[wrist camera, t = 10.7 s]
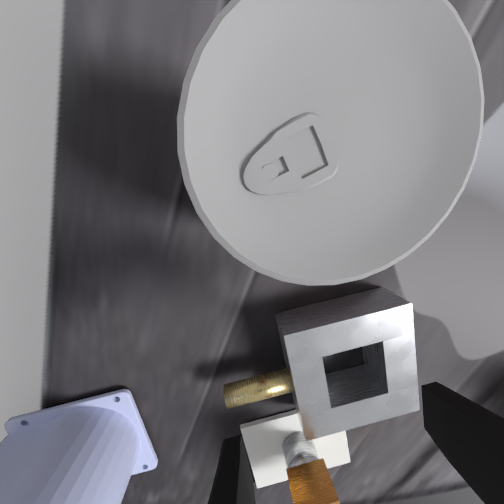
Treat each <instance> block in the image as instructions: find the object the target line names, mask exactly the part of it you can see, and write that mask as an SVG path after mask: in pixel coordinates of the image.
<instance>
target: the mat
mask: <svg viewBox="0 0 504 504" xmlns="http://www.w3.org/2000/svg"><path fill="white" fill-rule="evenodd" d="M240 429H241V433H242V436H243V440H244V443H245V447H246V450H247V454H248V457H249V461H250V464H251V468H252V471H253V475H254V478H255V481H256V485H257V488H261V487H264V486H268V485H272V484H275V483H279V482H282V481H286V480H288V476H287V471H286V468H287V467H286V463H285V458H284V453H283V449H282V443H283V441H284V439H285V438H286V437H287V436H288V435H289V434H291V433H294V432H298V431H302V432H303V430H302V427H301V424H300V421H299V418H298V415H297V412H296V410H292V411H289V412H285V413H281V414H278V415H274V416H270V417H267V418H263V419H259V420H255V421H252V422H248V423H244V424H241V425H240ZM313 443H314V445H315V448H316V451H317V454H318V457H319V459H322V458H323V459H324V461H325V464H326V467H327V469H328V468H332V467H335V466H339V465H342V464H346V463H349V462H350V456H349V450H348V444H347V437H346V431H342V432H338V433H335V434H331V435H327V436H324V437H320V438H317V439H313Z"/></svg>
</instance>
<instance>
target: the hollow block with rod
mask: <svg viewBox="0 0 504 504" xmlns="http://www.w3.org/2000/svg"><path fill="white" fill-rule="evenodd" d="M275 318H276V322H277V327H278V332H279V336H280V341H281V346H282V350H283V355H284V359H285V364H286V368H285V369H281V370H277V371H274V372H270V373H266V374H262V375H258V376H254V377H251V378H247V379H243V380H239V381H235V382H231V383H228V384H224V399H225V404H226V407H227V409H230V408H234V407H238V406H241V405H245V404H249V403H253V402H256V401H260V400H264V399H268V398H271V397H275V396H279V395H283V394H286V393H290V392H292V396H293V401H294V406H295V409H296V412H297V415H298V418H299V421H300V424H301V427H302V430H303V434H304V437H305V440H306V441H309V440H313V439H317V438H320V437H324V436H327V435H331V434H335V433H338V432H342V431H346V430H349V429H353V428H356V427H360V426H364V425H367V424H371V423H374V422H378V421H382V420H385V419H389V418H393V417H396V416H400V415H403V414H407V413H411V412H414V411H418V410H420V408H419V394H418V380H417V366H416V352H415V337H414V323H413V309H412V303H411V302H409V301H407V300H405V299H403V298H402V297H400V296H398V295H396V294H394V293H392V292H391V291H389V290H387V289H385V288H383V287H379V288H375V289H371V290H367V291H363V292H359V293H355V294H351V295H347V296H343V297H339V298H335V299H331V300H327V301H323V302H319V303H315V304H311V305H307V306H303V307H299V308H295V309H291V310H287V311H283V312H279V313H275ZM359 347H362V352H363V360H364V364H361V365H358V366H354V367H350V368H346V369H343V370H339V371H335V372H331V373H327V374H325V370H324V364H323V358H322V357H324V356H328V355H332V354H336V353H339V352H343V351H347V350H351V349H355V348H359Z"/></svg>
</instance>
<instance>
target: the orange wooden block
mask: <svg viewBox="0 0 504 504" xmlns="http://www.w3.org/2000/svg"><path fill="white" fill-rule="evenodd" d="M282 449H283V453H284V458H285V463H286V467H287V468H286V471H287V476H288V480H289V485H290V490H291V494H292V499H293V504H340V503H339V500H338V497H337V494H336V491H335V489H334V486H333V483H332V481H331V478H330V475H329V472H328V470H327V467H326V464H325V461H324V459H323V458H322V459H319V457H318V454H317V451H316V448H315V445H314V443H313V440H309V441H306V440H305V437H304V434H303V432H302V431H298V432H294V433H291V434H289V435H288V436H287V437H286V438H285V439H284V441H283V443H282Z"/></svg>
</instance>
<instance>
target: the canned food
mask: <svg viewBox="0 0 504 504" xmlns="http://www.w3.org/2000/svg"><path fill="white" fill-rule="evenodd" d="M483 113H484V92H483V84H482V76H481V68H480V64H479V61H478V58H477V55H476V52H475V49H474V45H473V42H472V39H471V36H470V35H469V33H468V31H467V29H466V27H465V26H464V24H463V22H462V20H461V19H460V17H459V15H458V13H457V11H456V10H455V8H454V7H453V6H452V5H451V4H450V3H449V1H448V0H231V1H230V2H229V3H228V4H227V5H226V6H225V7H224V9H223V10H222V11H221V12H220V13H219V14H218V15H217V16H216V17H215V19H214V21H213V22H212V24H211V25H210V27H209V29H208V30H207V32H206V33H205V35H204V36H203V38H202V40H201V41H200V43H199V44H198V46H197V48H196V50H195V53H194V55H193V58H192V61H191V63H190V66H189V68H188V71H187V74H186V76H185V79H184V81H183V86H182V92H181V98H180V103H179V109H178V115H177V150H178V157H179V161H180V166H181V171H182V176H183V180H184V185H185V187H186V189H187V192H188V194H189V196H190V199H191V201H192V203H193V206H194V208H195V210H196V213H197V214H198V216H199V217H200V219H201V220H202V222H203V223H204V224H205V226H206V227H207V229H208V230H209V232H210V233H211V235H212V236H213V238H215V239H216V240H217V241H218V242H219V243H220V244H221V245H222V246H223V247H224V248H225V249H226V250H227V251H228V252H229V253H230V254H231V255H232V256H233V257H234V258H236V259H238V260H239V261H241V262H242V263H244V264H245V265H247V266H249V267H250V268H252V269H253V270H255V271H257V272H259V273H261V274H264V275H267V276H269V277H272V278H275V279H277V280H280V281H283V282H289V283H295V284H301V285H307V286H314V285H337V284H342V283H346V282H351V281H356V280H360V279H363V278H365V277H368V276H370V275H373V274H375V273H378V272H380V271H383V270H385V269H387V268H389V267H390V266H392V265H393V264H395V263H397V262H398V261H400V260H402V259H403V258H405V257H406V256H408V255H409V254H410V253H412V252H413V251H414V250H415V249H416V248H418V247H419V246H420V245H421V244H422V243H423V242H424V241H426V240H427V239H428V238H429V237H430V236H431V235H432V234H433V233H434V231H435V230H436V229H437V228H438V227H439V225H440V224H441V223H442V222H443V221H444V220H445V218H446V217H447V216H448V215H449V213H450V212H451V210H452V208H453V207H454V205H455V203H456V202H457V200H458V198H459V197H460V195H461V193H462V192H463V190H464V188H465V185H466V183H467V181H468V178H469V176H470V173H471V171H472V168H473V166H474V163H475V161H476V157H477V153H478V148H479V143H480V139H481V135H482V130H483Z"/></svg>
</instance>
